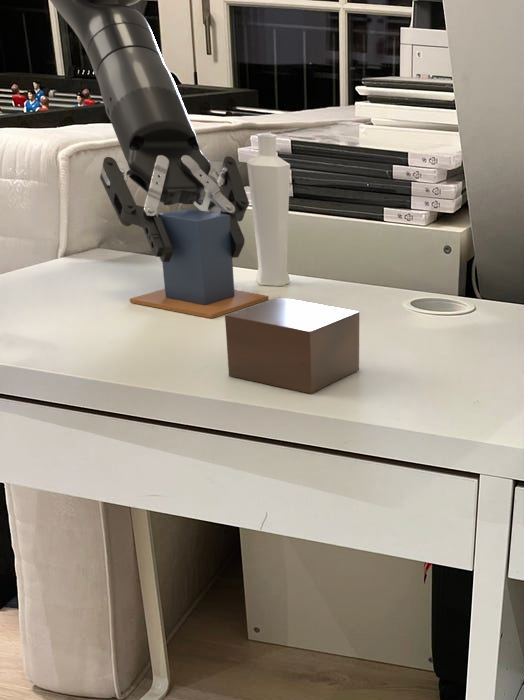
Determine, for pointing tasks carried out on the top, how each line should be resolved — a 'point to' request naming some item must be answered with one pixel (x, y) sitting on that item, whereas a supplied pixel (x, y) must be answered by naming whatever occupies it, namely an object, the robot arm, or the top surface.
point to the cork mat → (207, 311)
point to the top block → (198, 256)
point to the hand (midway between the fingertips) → (203, 254)
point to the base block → (292, 344)
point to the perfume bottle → (270, 211)
